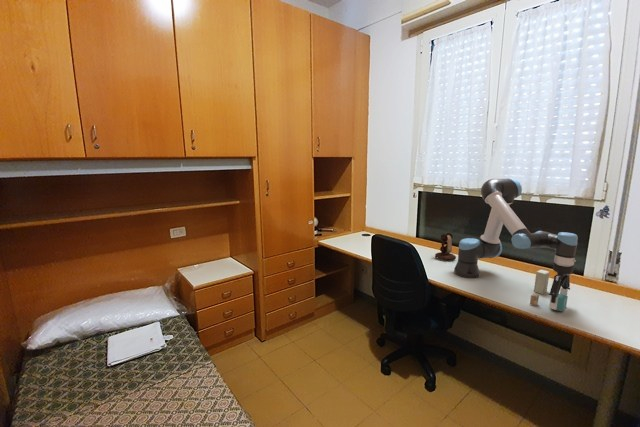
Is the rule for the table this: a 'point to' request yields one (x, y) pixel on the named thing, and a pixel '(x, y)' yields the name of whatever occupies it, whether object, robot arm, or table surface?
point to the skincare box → (541, 281)
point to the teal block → (561, 302)
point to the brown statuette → (446, 248)
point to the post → (534, 299)
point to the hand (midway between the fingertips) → (557, 304)
